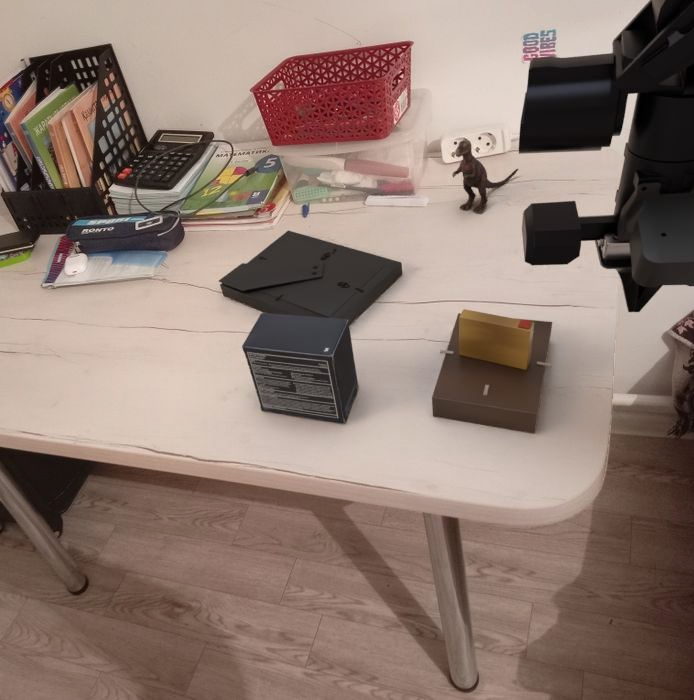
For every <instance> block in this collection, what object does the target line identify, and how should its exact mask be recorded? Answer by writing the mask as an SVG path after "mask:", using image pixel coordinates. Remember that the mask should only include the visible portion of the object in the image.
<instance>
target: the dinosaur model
mask: <svg viewBox="0 0 694 700" xmlns="http://www.w3.org/2000/svg"><path fill="white" fill-rule="evenodd" d="M454 154H455V157H457V158H460V157H462V160H461V161H460V162H459V166H458V168H457V169H456V170H455V171H453V172H452V178H455V177H456V176H457V175H459V174H460V173H462V179H463V180H462V187H463V190H464V191H465V193H466V194H467V195H468V199H467V201H466V202H465V203H463V204H460V207H459V208H460V210H463V211H466V210H467V211H468V210H470V209H471V208H472V206H473V205H474V202H475V199H476V197H477V195H476V193H475V192H474V190H473V188H475V189H477V190H478V195H479V196H480V200H479V203H478V204H477V205H476V206H474V207H473V209H472V212H474V214H482V213H483V212H485V210H486V208H487V205H488V204H487V203H488V201H489V200H488V196H487V190H489V189H496V188H498V187H501V186H502V185H505V183H507V182H508V181H510V179H512V178H513V177H514V176H515V175H516V173H517V172H518V171H519V170H520V169H519V168H516V169H515V170H514V171H512V172H511V173H510V174H509V175H508V176H507V177H506V178H505V179H503V180H501V181H497V182H492V181H491V180H489V179H488V172H487V169H486V168H485V166H484V165H483V163H482V162H481V161H480V160H478V159H477V158H476V156H474V155H473V153H472V142H471V141H470V140H468V139H465V140H460V141H459V142H458V145H457V147H456V149H455V151H454Z"/></svg>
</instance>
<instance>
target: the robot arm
mask: <svg viewBox="0 0 694 700" xmlns="http://www.w3.org/2000/svg"><path fill="white" fill-rule="evenodd" d="M632 94H633V95H634V94H636V99H635V102H634V108H633V115H632V118H631V124H630V129H629V134H628V140H627V142H625V146H624V151H623V157H624V159H623V160H624V161H623V164H622V169H621V175H620V180H619V184H618V189H616V191H615V198H614V202H615V205H614V211H613V214H599V215H598V214H597V215H581V216H580V215H579V212H578V207H577V203H576V200H568V201H548V202H533V203H530V204H529V205H528V206H527V207H526V208H525V209H524V210H523V212H522V221H521V235H522V247H523V258H524V263H527V264H529V265H531V266H558V265H559V266H561V265H563V266H564V265H568V264H570V263H571V262H573V261H574V260H576V259H578V258H579V257H580V255H581V247H582V242H589V241H593V242H594V244H595V248H596V252H597V256H598V257H597V258H598V260H599V265H600V266H601V267H602V268H604V269H605V270H615V271H616V272H617V274H618V276H619V278H620V281H621V286H622V291H623V296H624V300H625V305H626V308H627V312H628V313H640V312H642V310H643V309H644V307H645V306H646V305H647V304H648V303H649V302H650V300H651V299H653V297H654V296H655V295H656V294H657V292H659V291H660V290H661V289H662V287H663V286H687V287H694V0H649V1H648V2H647V3H645V5H644V6H643V7H642V8H641V9H640V10H639V11H638V13H637V14H636V15H635V16H634V17H633V18H632V19H631V20H630V21H629V22H628V23H627V24H626V26H625V27H623V29H622V30H621V31H620V32H619V33H618V34H617V36H615V38H613V40H612V52H610V53H609V52H608V53H600V54H590V55H589V54H588V55H578V56H568V57H557V56H540V57H532V59H531V60H530V61H529V66H528V73H527V85H526V92H525V93H524V100H523V104H522V105H523V106H522V112H521V118H520V123H519V138H518V154H519V155H522V154H545V153H547V154H548V153H549V154H550V153H573V152H598V151H599V152H600V151H601V150H602V149H603V148H611V145H612V141H613V137H620V136H621V133H622V130H623V126H624V121H625V117H626V110H627V103H628V98H629V95H632Z"/></svg>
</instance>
